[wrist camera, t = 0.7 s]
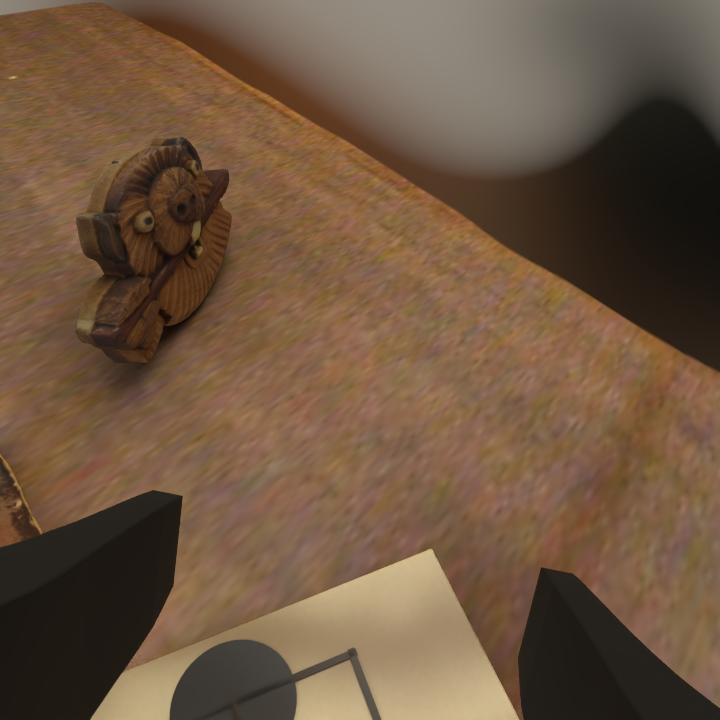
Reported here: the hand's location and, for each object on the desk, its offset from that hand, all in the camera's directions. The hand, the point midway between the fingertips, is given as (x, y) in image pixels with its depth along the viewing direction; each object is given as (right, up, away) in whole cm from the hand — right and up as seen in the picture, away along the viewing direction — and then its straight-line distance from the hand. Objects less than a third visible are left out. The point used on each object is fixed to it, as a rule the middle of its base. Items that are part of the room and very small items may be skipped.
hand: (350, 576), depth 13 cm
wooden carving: (-11, +8, +32) cm, 35 cm away
